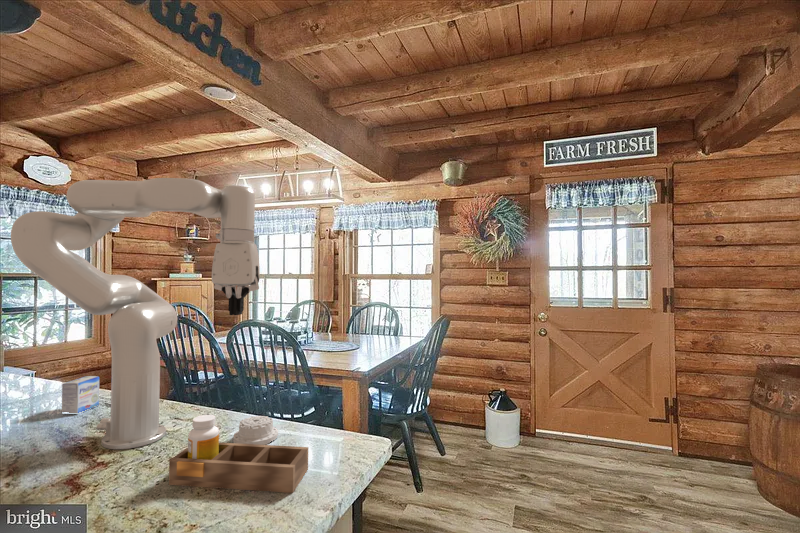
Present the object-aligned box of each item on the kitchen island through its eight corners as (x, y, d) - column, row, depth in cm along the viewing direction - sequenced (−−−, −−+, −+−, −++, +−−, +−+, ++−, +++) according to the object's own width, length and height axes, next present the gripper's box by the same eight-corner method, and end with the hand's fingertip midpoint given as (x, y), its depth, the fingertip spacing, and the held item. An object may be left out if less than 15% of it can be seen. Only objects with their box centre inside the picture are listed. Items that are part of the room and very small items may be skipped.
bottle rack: (167, 486, 74) (167, 461, 74) (196, 463, 83) (196, 441, 83) (292, 494, 72) (292, 468, 72) (308, 469, 80) (308, 447, 81)
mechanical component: (224, 446, 92) (264, 450, 90) (224, 426, 92) (264, 430, 90) (248, 429, 101) (285, 432, 100) (248, 411, 101) (285, 414, 100)
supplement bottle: (224, 463, 80) (225, 414, 80) (206, 476, 75) (208, 423, 75) (199, 460, 81) (200, 412, 81) (180, 473, 76) (182, 421, 76)
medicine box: (77, 415, 109) (78, 383, 109) (60, 415, 109) (61, 383, 109) (99, 405, 117) (100, 375, 117) (84, 405, 117) (84, 375, 117)
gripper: (198, 236, 94) (197, 315, 94) (260, 237, 93) (258, 317, 92) (216, 239, 101) (214, 312, 101) (273, 239, 100) (272, 313, 100)
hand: (235, 314), depth 97 cm, fingers closed
